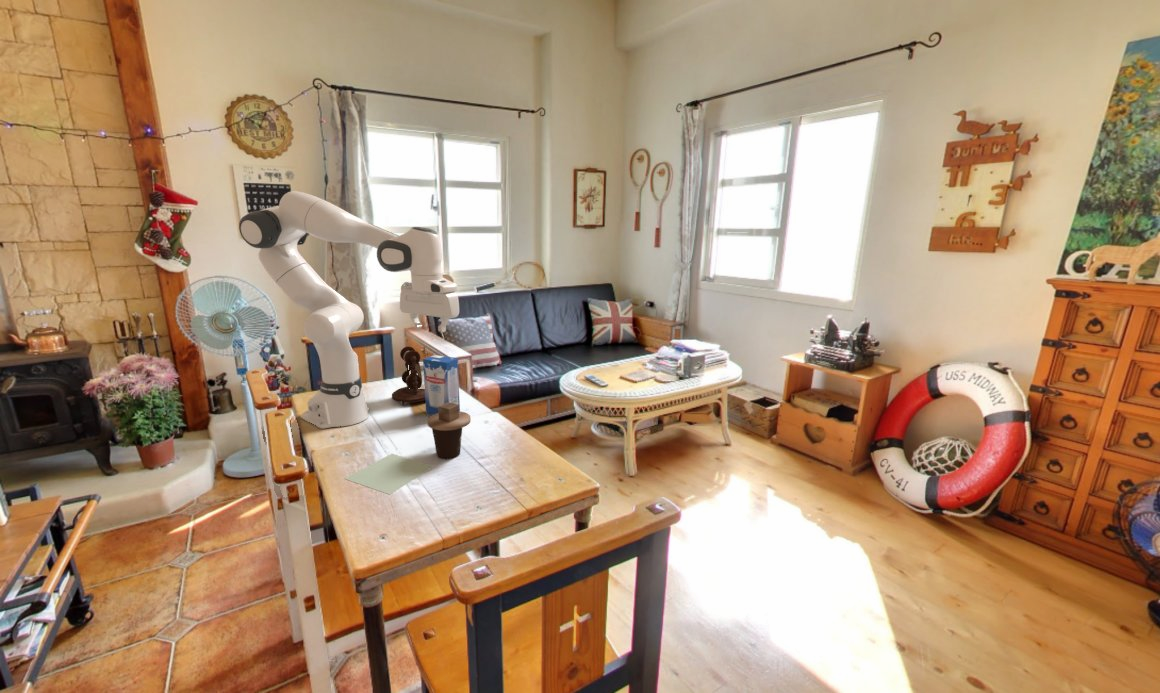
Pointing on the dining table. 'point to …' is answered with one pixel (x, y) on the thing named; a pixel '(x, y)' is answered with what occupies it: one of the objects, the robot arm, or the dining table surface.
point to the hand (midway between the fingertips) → (430, 329)
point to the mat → (389, 473)
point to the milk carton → (440, 382)
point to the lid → (448, 418)
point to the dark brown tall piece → (410, 378)
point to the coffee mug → (447, 443)
